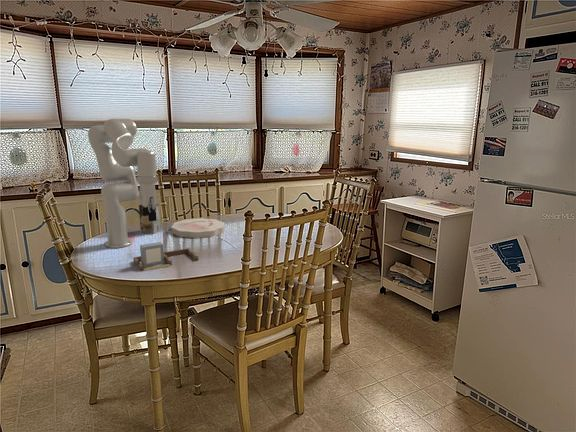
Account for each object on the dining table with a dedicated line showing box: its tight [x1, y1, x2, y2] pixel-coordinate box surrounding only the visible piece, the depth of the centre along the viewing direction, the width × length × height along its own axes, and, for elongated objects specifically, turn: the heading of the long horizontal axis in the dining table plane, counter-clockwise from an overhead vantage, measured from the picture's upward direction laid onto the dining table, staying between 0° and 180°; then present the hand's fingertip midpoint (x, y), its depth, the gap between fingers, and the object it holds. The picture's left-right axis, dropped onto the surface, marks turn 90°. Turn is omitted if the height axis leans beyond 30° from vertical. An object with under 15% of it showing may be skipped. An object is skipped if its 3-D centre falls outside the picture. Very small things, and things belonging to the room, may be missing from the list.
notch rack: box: [133, 248, 200, 272], centre depth 186 cm, size 14×26×3 cm, turn 123°
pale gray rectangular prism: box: [139, 241, 165, 268], centre depth 182 cm, size 4×9×9 cm, turn 124°
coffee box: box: [138, 203, 161, 235], centre depth 229 cm, size 9×6×16 cm
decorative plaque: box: [170, 217, 226, 239], centre depth 236 cm, size 30×4×30 cm
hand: (149, 218), depth 178 cm, fingers open, 9 cm apart
